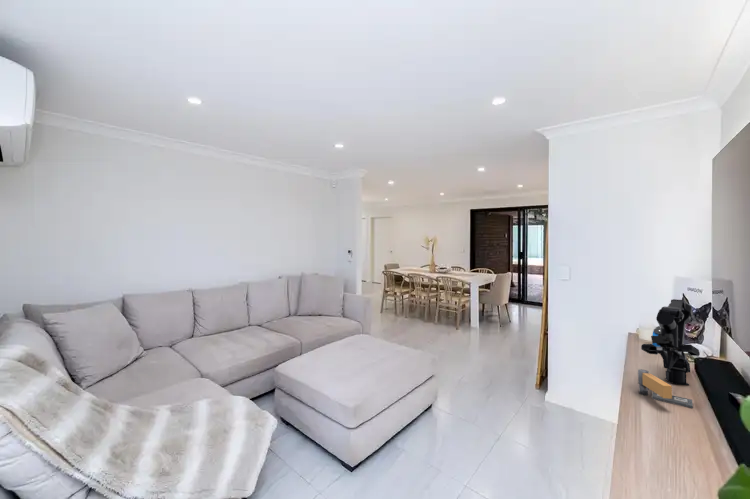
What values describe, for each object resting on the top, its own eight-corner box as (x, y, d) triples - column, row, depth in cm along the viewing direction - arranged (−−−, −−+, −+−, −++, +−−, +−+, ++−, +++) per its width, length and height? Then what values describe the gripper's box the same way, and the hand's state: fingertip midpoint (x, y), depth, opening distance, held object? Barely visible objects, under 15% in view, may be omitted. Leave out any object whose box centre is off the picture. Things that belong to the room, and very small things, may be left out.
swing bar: (636, 382, 146) (636, 369, 146) (645, 382, 145) (645, 369, 145) (662, 399, 129) (662, 384, 129) (672, 400, 128) (672, 385, 128)
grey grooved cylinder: (645, 392, 145) (645, 383, 145) (649, 395, 142) (649, 386, 142) (637, 392, 145) (637, 383, 145) (641, 395, 142) (641, 386, 142)
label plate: (651, 398, 139) (651, 395, 139) (653, 393, 144) (652, 390, 144) (692, 408, 130) (692, 404, 130) (692, 402, 135) (692, 398, 135)
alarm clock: (665, 355, 192) (664, 329, 192) (651, 352, 197) (651, 328, 197) (668, 350, 201) (668, 326, 201) (655, 347, 205) (655, 324, 205)
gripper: (634, 327, 151) (632, 360, 145) (683, 326, 134) (683, 362, 128) (649, 337, 153) (648, 369, 147) (700, 336, 136) (700, 373, 130)
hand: (668, 368), depth 138 cm, fingers closed
